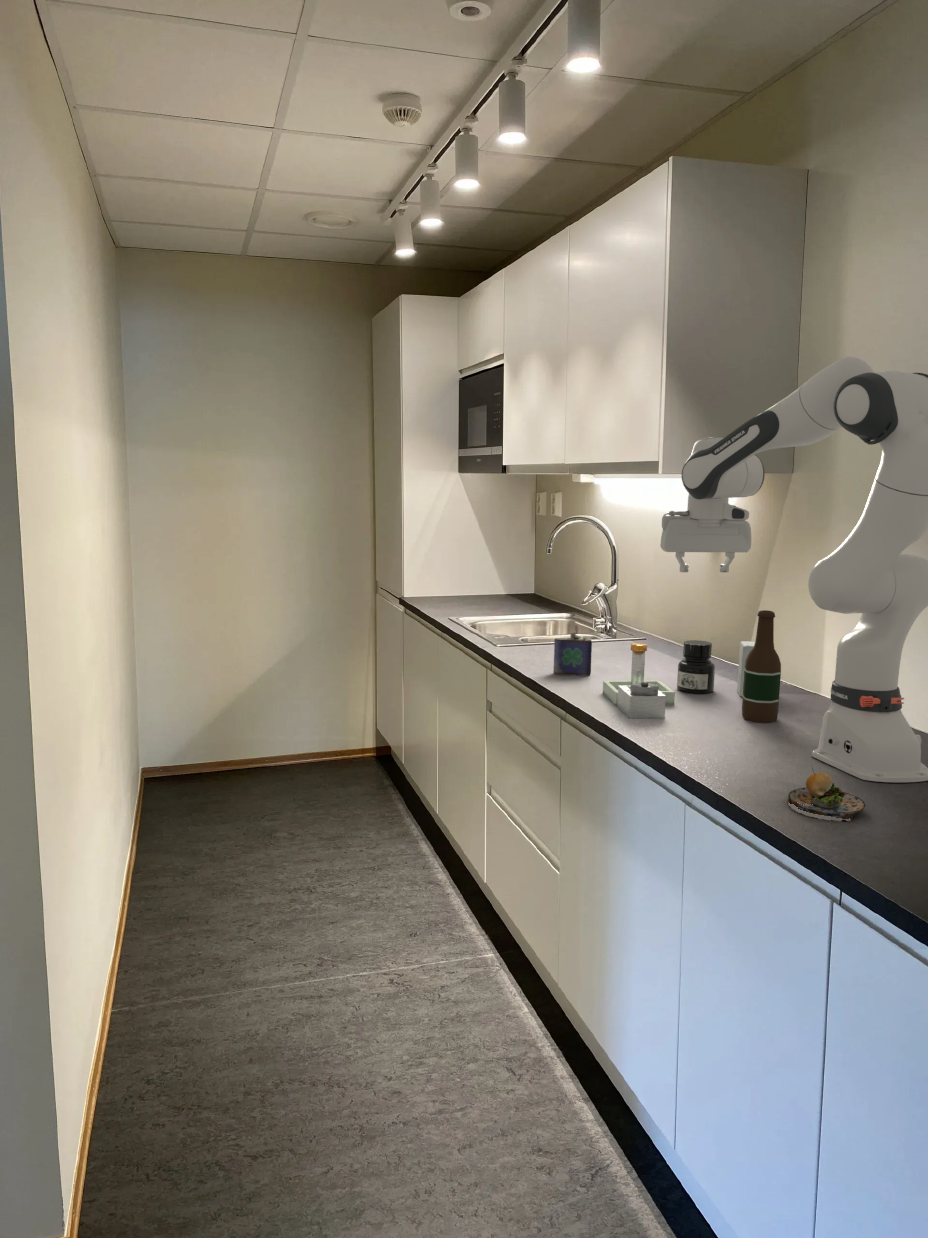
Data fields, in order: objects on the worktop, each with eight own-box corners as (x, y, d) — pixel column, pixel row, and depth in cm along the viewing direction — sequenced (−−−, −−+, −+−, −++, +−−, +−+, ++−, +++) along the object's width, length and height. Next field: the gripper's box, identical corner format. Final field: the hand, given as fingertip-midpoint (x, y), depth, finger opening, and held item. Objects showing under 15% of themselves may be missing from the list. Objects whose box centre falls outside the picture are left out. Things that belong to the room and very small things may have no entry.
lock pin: (646, 696, 221) (649, 646, 219) (631, 697, 221) (633, 646, 219) (642, 693, 225) (644, 643, 223) (626, 693, 225) (629, 643, 223)
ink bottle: (668, 689, 232) (670, 642, 230) (687, 684, 238) (690, 637, 236) (703, 696, 225) (706, 647, 223) (721, 690, 231) (724, 643, 229)
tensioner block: (665, 718, 205) (666, 685, 204) (629, 718, 204) (630, 685, 203) (651, 706, 215) (652, 675, 214) (617, 706, 214) (618, 675, 213)
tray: (674, 704, 217) (674, 692, 216) (615, 705, 215) (616, 692, 215) (658, 692, 229) (659, 680, 228) (602, 692, 227) (603, 680, 227)
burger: (865, 828, 144) (869, 781, 143) (785, 816, 148) (788, 771, 147) (863, 802, 155) (867, 759, 154) (788, 792, 159) (791, 750, 158)
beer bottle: (753, 724, 201) (760, 614, 197) (734, 715, 208) (740, 609, 204) (785, 722, 203) (793, 613, 199) (764, 713, 210) (771, 608, 207)
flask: (552, 674, 247) (554, 631, 245) (553, 672, 250) (555, 629, 248) (590, 676, 245) (592, 633, 243) (591, 674, 248) (592, 631, 246)
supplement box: (771, 699, 224) (774, 647, 222) (739, 697, 225) (742, 645, 223) (767, 691, 231) (771, 641, 229) (736, 690, 232) (739, 640, 230)
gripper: (666, 511, 205) (663, 573, 207) (756, 512, 207) (752, 573, 209) (658, 509, 211) (655, 570, 213) (745, 510, 213) (741, 570, 216)
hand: (704, 572), depth 211 cm, fingers open, 8 cm apart
